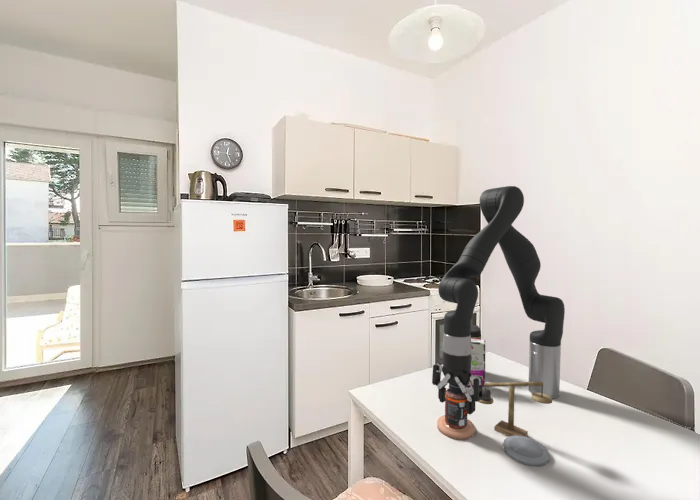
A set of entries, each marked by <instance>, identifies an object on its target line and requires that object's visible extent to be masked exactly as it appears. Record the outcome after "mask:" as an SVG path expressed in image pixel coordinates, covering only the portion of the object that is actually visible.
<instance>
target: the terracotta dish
mask: <svg viewBox="0 0 700 500" xmlns="http://www.w3.org/2000/svg"><path fill="white" fill-rule="evenodd" d="M436 423H437V424H436V428H437V430H438V432H440V433H441V434H442V435H444V436H446V437H448V438H449V439H450V438H451V439H454V440H468V439H471V438H473V437H474V436H475V433H476V427H475V424H474V423H473V422H472V421H471V420H470V419H468V418H467V426H466V427H465V428H462V429H456V428H452V427H450V426H448V425H447V424H446V422H445V414H444V415H442V416H440V417H438V418H437V420H436Z"/></svg>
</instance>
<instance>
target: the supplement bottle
mask: <svg viewBox="0 0 700 500" xmlns="http://www.w3.org/2000/svg"><path fill="white" fill-rule="evenodd" d="M467 401H468V399H467V397H466V395H465V394H464V393H463V392H462V390H461V388H459V387H457V386H455V385H452V384H449V383H448V388H447V389H446V393H445V402H444V415H445V422H446V424H447V425H448V426H450V427H452V428H456V429H462V428H465V427H466V426H467V419H468V414H467Z"/></svg>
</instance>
